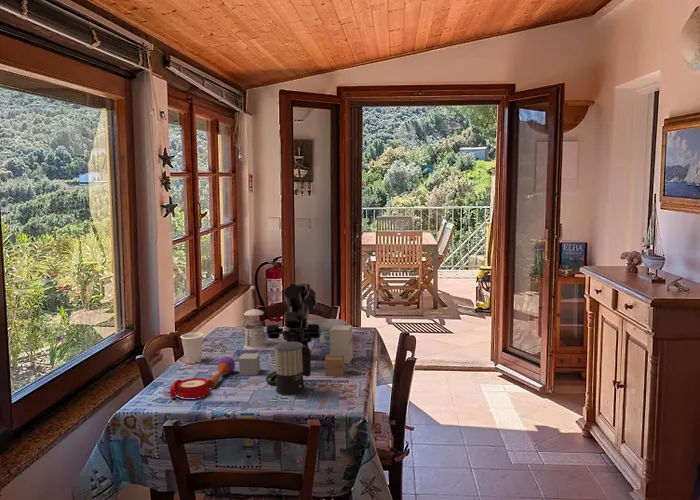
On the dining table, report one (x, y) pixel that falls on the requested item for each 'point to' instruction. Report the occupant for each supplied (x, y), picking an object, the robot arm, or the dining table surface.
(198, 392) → the alarm clock
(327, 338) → the chinaware
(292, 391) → the milk frother
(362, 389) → the dining table surface
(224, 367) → the kendama
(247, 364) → the beige block
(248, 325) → the french press
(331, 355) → the walnut block
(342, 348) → the supplement box
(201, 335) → the dixie cup
